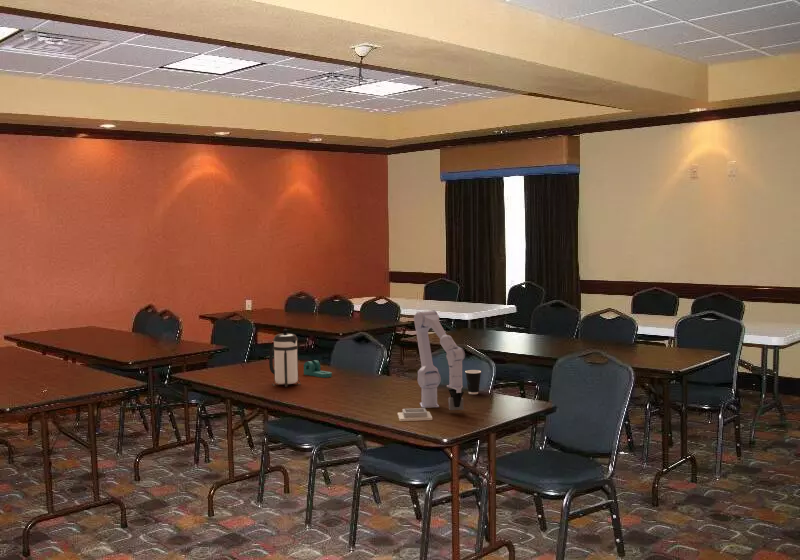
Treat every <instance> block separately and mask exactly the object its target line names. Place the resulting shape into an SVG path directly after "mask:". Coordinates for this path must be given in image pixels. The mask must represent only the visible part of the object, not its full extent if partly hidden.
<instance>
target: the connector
mask: <svg viewBox="0 0 800 560" xmlns="http://www.w3.org/2000/svg"><path fill="white" fill-rule="evenodd" d="M464 409H465V407H464V398H463V397H462V398H461V402H460V407H455V406H454V401H453V397H451V396H449V397H448V410H449V411H464Z"/></svg>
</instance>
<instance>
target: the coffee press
mask: <svg viewBox="0 0 800 560" xmlns="http://www.w3.org/2000/svg"><path fill="white" fill-rule="evenodd" d="M282 332H283V333H278V334H276V335H275V336H274V337H273V339H272V341H273V344H272V345H271V346H270V347H269V349H268V350H269V351H268V363H269V369H270V372H271V373H272V374H273V376H274V379H273V380H274V381H273V382H272V383H271V384H272V386H273V387H274V386H276V385H277V384H278V385H284V388H288V386H289V385H292V384H297V385H298V386H300V385H301V381H300V380H299V364H298V360H299V359H298V358H299V357H298V355H299V353H298V351H299V350H298V347H299V346H298V340H299V338H298V337H297V335H296V334H294V333H289V332H288V329H287V328H284V329H283V331H282ZM274 382H275V384H274ZM298 382H299V383H298Z"/></svg>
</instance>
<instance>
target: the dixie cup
mask: <svg viewBox="0 0 800 560" xmlns="http://www.w3.org/2000/svg"><path fill="white" fill-rule="evenodd" d="M464 372H465V377H466V379H465V380H466V386H467V392H468V395H478V394H479V391H480V386H481V385H480V384H481V375H482V374H481V373H482V371H481V370H479V369H468V370H465V371H464Z"/></svg>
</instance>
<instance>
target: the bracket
mask: <svg viewBox="0 0 800 560" xmlns="http://www.w3.org/2000/svg"><path fill="white" fill-rule="evenodd" d="M332 373H333V372H331V371H325V370H322V369H321V362H320V361H319V360H318V359H317V360H316V359H314V360H310V361H309V360H307V361H305V362H304V363H303V375H304V376H311V377H316V378H317V377H318V378H324V379H327V378H332V377H333V374H332Z"/></svg>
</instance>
